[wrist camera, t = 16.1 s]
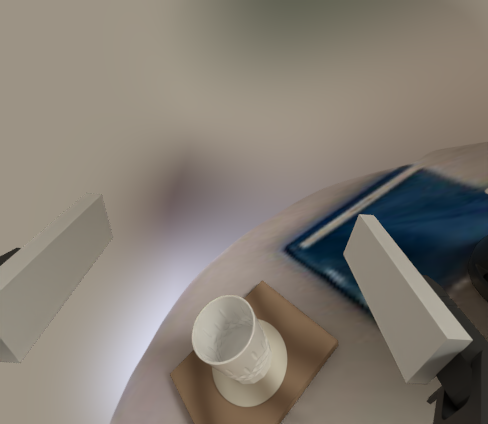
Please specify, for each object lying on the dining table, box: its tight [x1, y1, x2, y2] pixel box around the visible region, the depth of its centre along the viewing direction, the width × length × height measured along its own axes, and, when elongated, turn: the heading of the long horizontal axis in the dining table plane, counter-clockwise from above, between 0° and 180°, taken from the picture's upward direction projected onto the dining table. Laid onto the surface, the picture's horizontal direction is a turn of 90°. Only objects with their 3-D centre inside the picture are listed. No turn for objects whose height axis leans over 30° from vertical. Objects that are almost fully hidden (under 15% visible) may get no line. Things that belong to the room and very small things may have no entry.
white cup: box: [192, 295, 272, 384], centre depth 31 cm, size 8×8×10 cm
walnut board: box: [170, 281, 339, 424], centre depth 35 cm, size 20×15×2 cm
